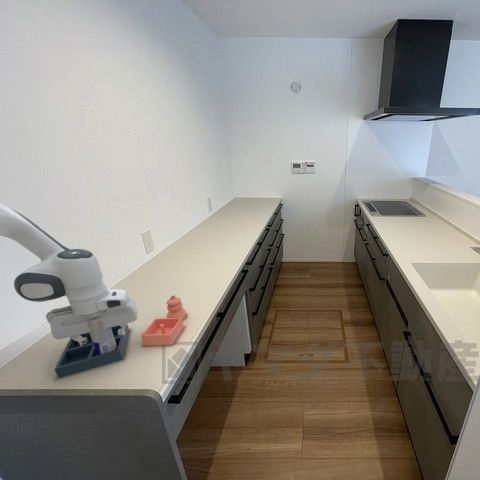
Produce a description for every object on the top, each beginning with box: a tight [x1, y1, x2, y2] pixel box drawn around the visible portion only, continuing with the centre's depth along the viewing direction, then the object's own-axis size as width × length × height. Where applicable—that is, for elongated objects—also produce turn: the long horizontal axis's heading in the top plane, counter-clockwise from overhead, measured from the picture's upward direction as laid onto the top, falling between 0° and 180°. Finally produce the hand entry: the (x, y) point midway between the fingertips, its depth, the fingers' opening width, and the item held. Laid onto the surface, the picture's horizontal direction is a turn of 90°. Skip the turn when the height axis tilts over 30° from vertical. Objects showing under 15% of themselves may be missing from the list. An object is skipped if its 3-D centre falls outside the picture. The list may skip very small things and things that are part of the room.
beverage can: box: [86, 317, 117, 356], centre depth 82 cm, size 5×5×15 cm
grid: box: [54, 323, 130, 379], centre depth 85 cm, size 15×15×4 cm
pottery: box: [140, 294, 187, 346], centre depth 96 cm, size 18×10×10 cm, turn 3°
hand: (103, 339), depth 82 cm, fingers open, 8 cm apart
